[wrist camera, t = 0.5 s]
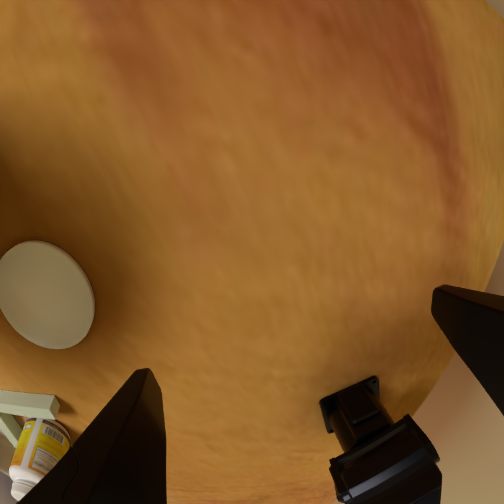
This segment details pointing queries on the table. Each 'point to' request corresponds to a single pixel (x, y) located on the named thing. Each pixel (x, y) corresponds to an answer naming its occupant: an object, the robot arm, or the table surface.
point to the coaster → (45, 295)
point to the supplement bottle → (36, 453)
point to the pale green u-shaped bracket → (24, 410)
